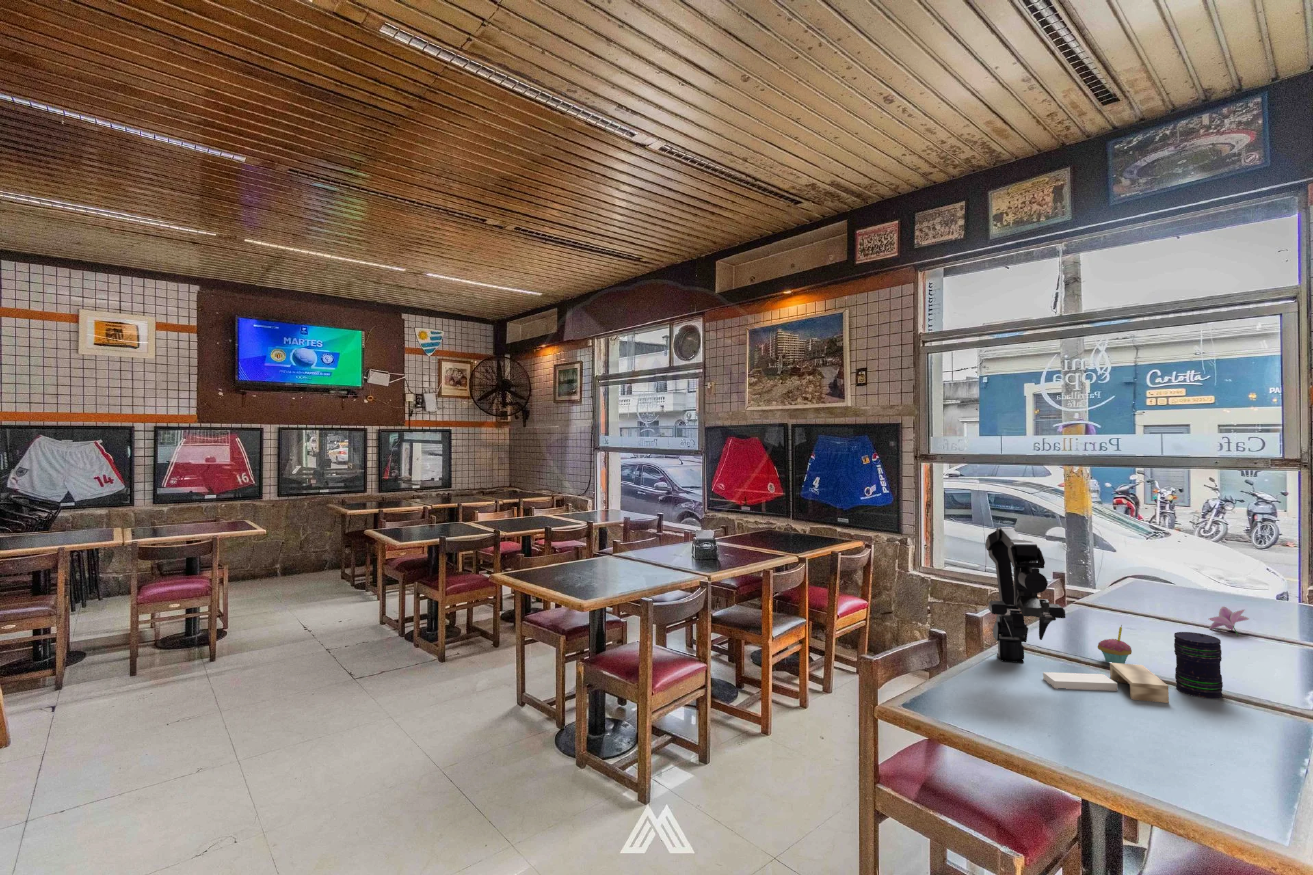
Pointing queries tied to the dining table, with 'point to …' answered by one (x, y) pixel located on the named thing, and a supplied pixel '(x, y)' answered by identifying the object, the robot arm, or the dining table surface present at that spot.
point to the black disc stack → (1198, 665)
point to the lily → (1227, 618)
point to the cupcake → (1115, 649)
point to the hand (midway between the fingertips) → (1026, 638)
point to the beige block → (1140, 682)
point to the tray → (1080, 681)
